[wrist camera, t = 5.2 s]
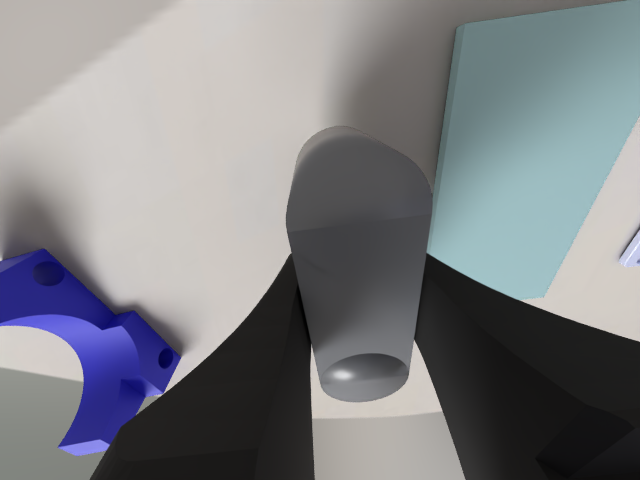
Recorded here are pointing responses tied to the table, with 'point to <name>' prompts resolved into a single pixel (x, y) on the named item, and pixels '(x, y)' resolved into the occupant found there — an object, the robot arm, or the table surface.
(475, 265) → the rubber mat
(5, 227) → the table surface
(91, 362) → the cable clip
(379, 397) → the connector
